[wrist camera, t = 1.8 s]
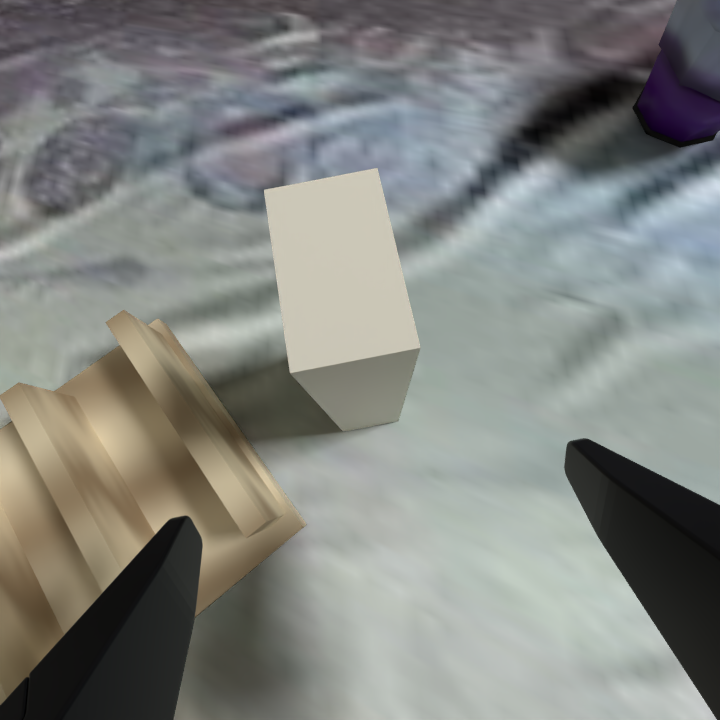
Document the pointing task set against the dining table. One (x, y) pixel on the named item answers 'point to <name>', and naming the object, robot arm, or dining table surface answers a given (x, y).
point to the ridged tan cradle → (121, 488)
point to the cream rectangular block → (343, 297)
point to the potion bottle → (685, 77)
